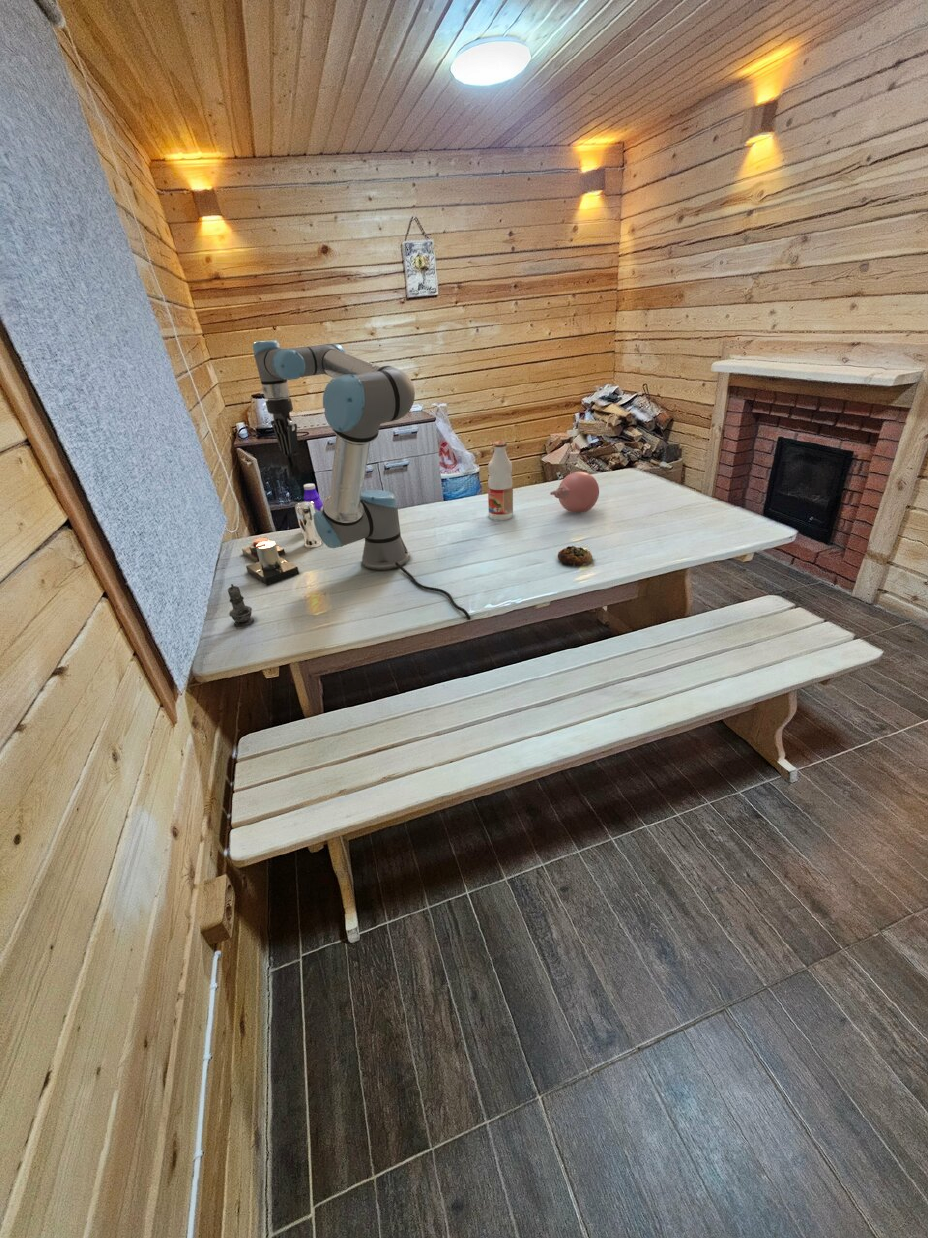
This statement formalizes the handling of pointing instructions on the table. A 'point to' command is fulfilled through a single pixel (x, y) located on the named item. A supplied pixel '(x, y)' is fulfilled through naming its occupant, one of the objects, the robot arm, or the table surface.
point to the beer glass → (307, 523)
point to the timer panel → (272, 572)
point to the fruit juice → (500, 484)
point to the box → (253, 554)
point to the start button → (259, 540)
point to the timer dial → (268, 555)
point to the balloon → (577, 492)
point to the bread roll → (574, 556)
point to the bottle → (312, 496)
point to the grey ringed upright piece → (239, 608)
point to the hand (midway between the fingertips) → (295, 475)
